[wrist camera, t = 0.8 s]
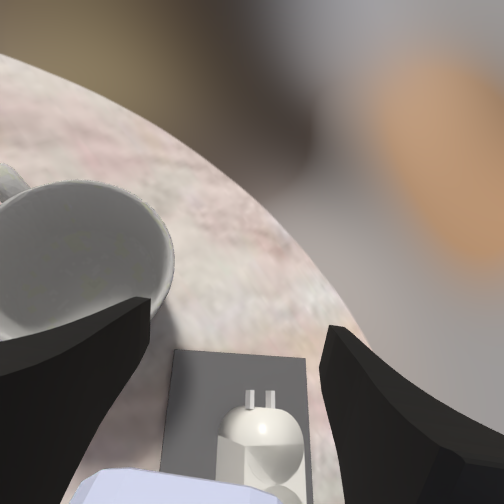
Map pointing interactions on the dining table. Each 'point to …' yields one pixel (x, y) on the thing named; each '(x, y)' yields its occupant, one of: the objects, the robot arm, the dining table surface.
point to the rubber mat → (226, 405)
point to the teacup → (76, 252)
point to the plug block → (262, 450)
